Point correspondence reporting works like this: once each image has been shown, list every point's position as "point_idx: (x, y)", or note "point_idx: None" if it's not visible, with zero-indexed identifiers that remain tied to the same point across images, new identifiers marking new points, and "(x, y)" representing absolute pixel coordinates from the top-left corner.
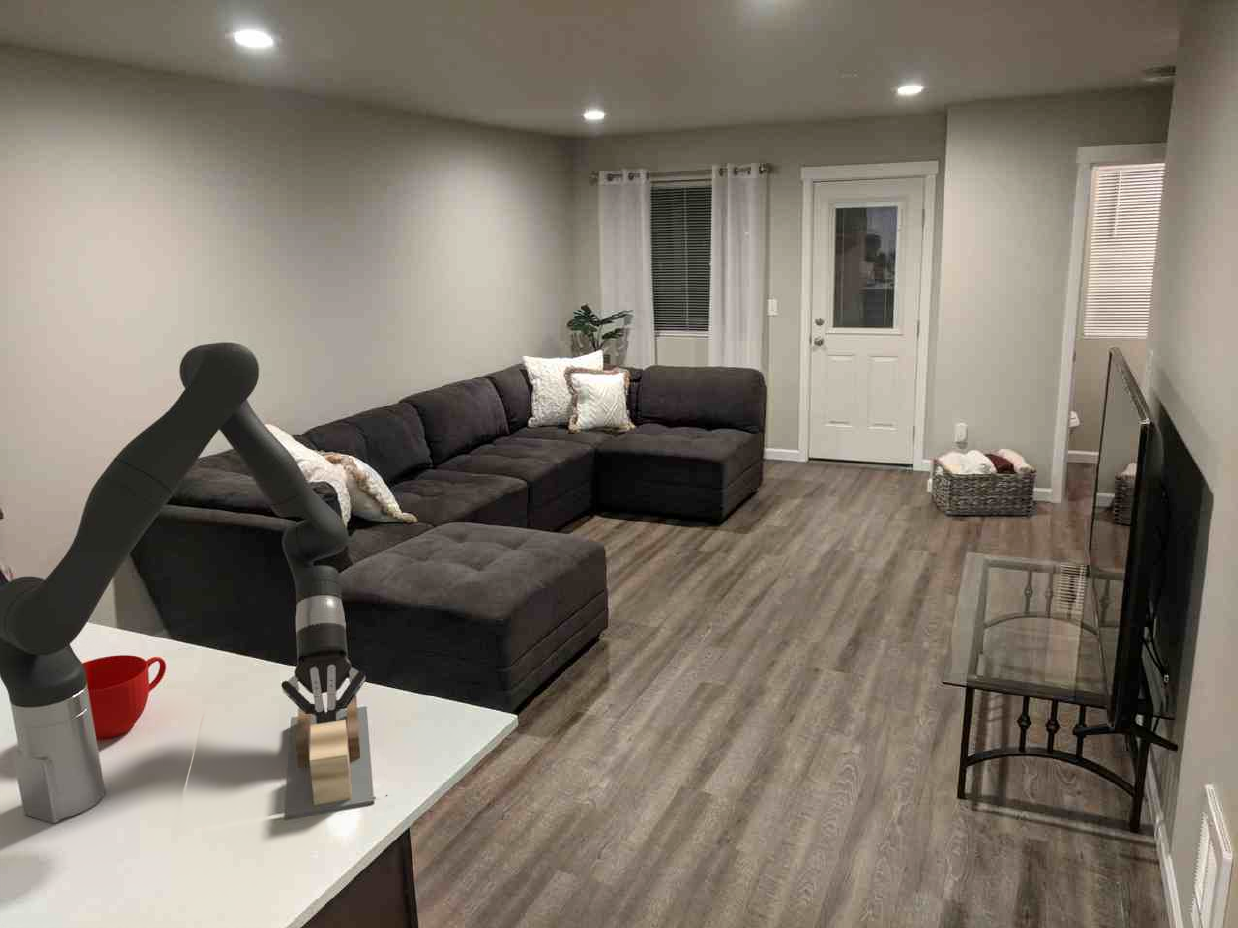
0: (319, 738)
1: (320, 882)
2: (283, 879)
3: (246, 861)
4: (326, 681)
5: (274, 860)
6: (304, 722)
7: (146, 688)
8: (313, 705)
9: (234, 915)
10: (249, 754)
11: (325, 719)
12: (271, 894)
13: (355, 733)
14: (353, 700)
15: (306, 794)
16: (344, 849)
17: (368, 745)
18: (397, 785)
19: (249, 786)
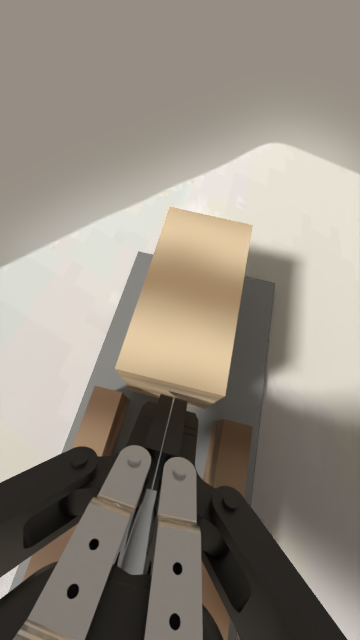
0: (214, 303)
1: (241, 163)
2: (279, 184)
3: (323, 230)
4: (101, 623)
5: (288, 215)
6: (209, 588)
7: None
8: (199, 508)
9: (329, 164)
10: (343, 592)
11: (168, 429)
12: (293, 171)
13: (94, 408)
14: None
15: None
16: (205, 193)
17: (70, 438)
18: (87, 279)
19: (332, 421)
